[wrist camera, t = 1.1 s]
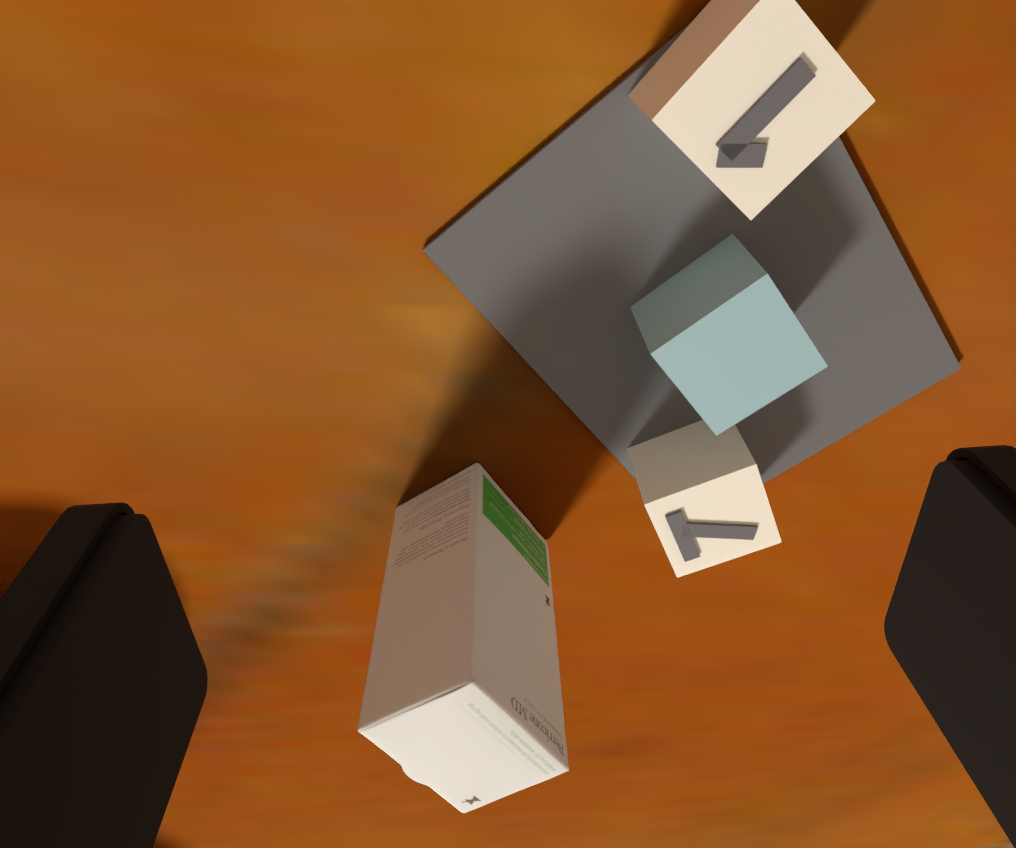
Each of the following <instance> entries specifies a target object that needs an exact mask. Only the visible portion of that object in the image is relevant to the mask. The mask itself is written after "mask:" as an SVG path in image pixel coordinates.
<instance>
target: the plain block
mask: <svg viewBox="0 0 1016 848" xmlns="http://www.w3.org/2000/svg"><path fill="white" fill-rule="evenodd" d="M630 308H631V311H632V313H633V315H634V318H635V320H636V322H637V325H638V327H639V329H640V332H641V334H642V336H643V338H644V341H645V343H646V345H647V348H648V350H649V352H650V354H651V356H652V357H653V358H654V359H655V361H656V362H657V363H658V364H659V366H660V367H661V368H662V369H663V370H664V372H665V373H666V374H667V375H668V377H669V378H670V379H671V380H672V382H673V383H674V384H675V385H676V387H677V388H678V389H679V390H680V391H681V393H682V394H683V395H684V396H685V398H686V399H687V400H688V401H689V403H690V404H691V405H692V406H693V408H694V409H695V410H696V411H697V413H698V414H699V415H700V416H701V417H702V419H703V420H704V421H705V422H706V424H707V425H708V426H709V427H710V429H711V430H712V431H713V432H714V434H715V435H716V436H717V435H719V434H720V433H722V432H723V431H725V430H727V429H728V428H730V427H732V426H733V425H735V424H736V423H738V422H740V421H741V420H743V419H744V418H746V417H748V416H749V415H751V414H752V413H754V412H756V411H757V410H759V409H760V408H762V407H764V406H765V405H767V404H768V403H770V402H772V401H773V400H775V399H777V398H778V397H780V396H781V395H783V394H785V393H786V392H788V391H789V390H791V389H793V388H794V387H796V386H797V385H799V384H801V383H802V382H804V381H805V380H807V379H809V378H810V377H812V376H814V375H815V374H817V373H818V372H820V371H822V370H823V369H825V368H826V367H828V366H827V364H826V362H825V361H824V359H823V358H822V356H821V355H820V353H819V352H818V350H817V349H816V347H815V346H814V344H813V342H812V341H811V339H810V338H809V336H808V335H807V333H806V332H805V330H804V329H803V327H802V326H801V324H800V323H799V321H798V319H797V318H796V316H795V315H794V313H793V312H792V310H791V309H790V307H789V306H788V304H787V303H786V301H785V299H784V298H783V296H782V295H781V293H780V292H779V290H778V289H777V287H776V286H775V284H774V283H773V281H772V280H771V278H770V276H769V275H768V273H767V272H766V271H765V270H764V269H763V268H762V267H761V265H760V264H759V263H758V262H757V261H756V260H755V259H754V257H753V256H752V255H751V254H750V253H749V252H748V250H747V249H746V248H745V247H744V246H743V245H742V244H741V242H740V241H739V240H738V239H737V238H736V237H735V236H734V234H733V233H732V234H731V235H730V236H728V237H727V238H726V239H724V240H723V241H721V242H720V243H719V244H717V245H716V246H714V247H713V248H712V249H710V250H709V251H707V252H706V253H705V254H703V255H702V256H700V257H699V258H698V259H696V260H695V261H694V262H692V263H691V264H689V265H688V266H687V267H685V268H684V269H682V270H681V271H680V272H678V273H677V274H675V275H674V276H673V277H671V278H670V279H668V280H667V281H666V282H664V283H663V284H661V285H660V286H659V287H657V288H656V289H655V290H653V291H652V292H650V293H649V294H648V295H646V296H645V297H643V298H642V299H641V300H639V301H638V302H636V303H635V304H634V305H632V306H631V307H630Z"/></svg>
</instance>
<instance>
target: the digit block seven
mask: <svg viewBox="0 0 1016 848" xmlns="http://www.w3.org/2000/svg"><path fill="white" fill-rule="evenodd" d="M627 450H628V454H629V457H630V460H631V463H632V467H633V470H634V473H635V476H636V480H637V483H638V486H639V489H640V493H641V496H642V499H643V502H644V505H645V507H646V510H647V512H648V514H649V516H650V518H651V521H652V523H653V525H654V527H655V530H656V532H657V534H658V536H659V538H660V541H661V543H662V545H663V547H664V549H665V552H666V554H667V556H668V558H669V561H670V563H671V565H672V567H673V569H674V572H675V574H676V576H677V578H678V577H681V576H684V575H687V574H690V573H693V572H696V571H699V570H702V569H704V568H707V567H710V566H713V565H716V564H719V563H722V562H725V561H728V560H731V559H734V558H737V557H740V556H743V555H746V554H749V553H752V552H755V551H758V550H761V549H764V548H767V547H770V546H773V545H776V544H779V543H782V542H781V539H780V536H779V532H778V529H777V526H776V523H775V520H774V517H773V514H772V511H771V508H770V505H769V501H768V498H767V495H766V492H765V489H764V486H763V483H762V480H761V477H760V474H759V470H758V467H757V464H756V462H755V460H754V459H753V457H752V455H751V453H750V451H749V449H748V447H747V446H746V444H745V442H744V440H743V438H742V436H741V435H740V433H739V431H738V429H737V427H736V425H733V426H732V427H730V428H728V429H727V430H725V431H723V432H722V433H720V434H719V435H717V436H716V435H715V434H714V432H713V431H712V430H711V429H710V427H709V426H708V425H707V424H706V422H705V421H704V420H701V421H698V422H696V423H693V424H690V425H688V426H685V427H682V428H680V429H677V430H674V431H672V432H669V433H666V434H664V435H661V436H659V437H656V438H653V439H651V440H648V441H645V442H643V443H640V444H637V445H635V446H632V447H629V448H627Z"/></svg>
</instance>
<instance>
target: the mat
mask: <svg viewBox="0 0 1016 848" xmlns="http://www.w3.org/2000/svg"><path fill="white" fill-rule="evenodd" d="M690 23H691V22H690ZM690 23H689V24H688V25H687V26H686V27H684V28H683V29H682V30H681V31H680V32H678V33H677V34H676V35H675V36H674V37H673V38H671V39H670V40H669V41H668V42H667V43H665V44H664V45H663V46H662V47H661V48H659V49H658V50H657V51H656V52H655V53H654V54H652V55H651V56H650V57H649V58H648V59H646V60H645V61H644V62H643V63H642V64H640V65H639V66H638V67H637V68H636V69H635V70H633V71H632V72H631V73H630V74H629V75H627V76H626V77H625V78H624V79H623V80H621V81H620V82H619V83H618V84H617V85H616V86H614V87H613V88H612V89H611V90H610V91H608V92H607V93H606V94H605V95H604V96H602V97H601V98H600V99H599V100H598V101H597V102H595V103H594V104H593V105H592V106H591V107H589V108H588V109H587V110H586V111H585V112H583V113H582V114H581V115H580V116H579V117H578V118H576V119H575V120H574V121H573V122H572V123H570V124H569V125H568V126H567V127H566V128H564V129H563V130H562V131H561V132H560V133H559V134H557V135H556V136H555V137H554V138H553V139H551V140H550V141H549V142H548V143H547V144H545V145H544V146H543V147H542V148H541V149H540V150H538V151H537V152H536V153H535V154H534V155H532V156H531V157H530V158H529V159H528V160H526V161H525V162H524V163H523V164H522V165H521V166H519V167H518V168H517V169H516V170H515V171H513V172H512V173H511V174H510V175H509V176H507V177H506V178H505V179H504V180H503V181H502V182H500V183H499V184H498V185H497V186H496V187H494V188H493V189H492V190H491V191H490V192H488V193H487V194H486V195H485V196H484V197H483V198H481V199H480V200H479V201H478V202H477V203H475V204H474V205H473V206H472V207H471V208H469V209H468V210H467V211H466V212H465V213H464V214H462V215H461V216H460V217H459V218H458V219H456V220H455V221H454V222H453V223H452V224H450V225H449V226H448V227H447V228H446V229H445V230H443V231H442V232H441V233H440V234H439V235H437V236H436V237H435V238H434V239H433V240H431V241H430V242H429V243H428V244H427V245H426V246H424V247H423V251H424V252H425V253H426V254H427V255H428V257H429V258H430V259H431V260H432V261H433V262H434V263H435V264H436V265H437V266H438V267H439V268H440V269H441V270H442V272H443V273H444V274H445V275H446V276H447V277H448V278H449V279H450V280H451V281H452V282H453V283H454V284H455V286H456V287H457V288H458V289H459V290H460V291H461V292H462V293H463V294H464V295H465V296H466V297H467V298H468V300H469V301H470V302H471V303H472V304H473V305H474V306H475V307H476V308H477V309H478V310H479V311H480V312H481V314H482V315H483V316H484V317H485V318H486V319H487V320H488V321H489V322H490V323H491V324H492V325H493V326H494V327H495V329H496V330H497V331H498V332H499V333H500V334H501V335H502V336H503V337H504V338H505V339H506V340H507V341H508V343H509V344H510V345H511V346H512V347H513V348H514V349H515V350H516V351H517V352H518V353H519V354H520V355H521V357H522V358H523V359H524V360H525V361H526V362H527V363H528V364H529V365H530V366H531V367H532V368H533V369H534V371H535V372H536V373H537V374H538V375H539V376H540V377H541V378H542V379H543V380H544V381H545V382H546V383H547V385H548V386H549V387H550V388H551V389H552V390H553V391H554V392H555V393H556V394H557V395H558V396H559V397H560V398H561V400H562V401H563V402H564V403H565V404H566V405H567V406H568V407H569V408H570V409H571V410H572V411H573V412H574V414H575V415H576V416H577V417H578V418H579V419H580V420H581V421H582V422H583V423H584V424H585V425H586V426H587V428H588V429H589V430H590V431H591V432H592V433H593V434H594V435H595V436H596V437H597V438H598V439H599V440H600V442H601V443H602V444H603V445H604V446H605V447H606V448H607V449H608V450H609V451H610V452H611V453H612V454H613V455H614V457H615V458H616V459H617V460H618V461H619V462H620V463H621V464H622V465H623V466H624V467H625V468H626V469H627V471H628V472H629V473H630V474H631V475H632V476H633V477H634V478H635V479H636V476H635V473H634V470H633V467H632V463H631V460H630V457H629V454H628V450H627V448H629V447H632V446H635V445H637V444H640V443H643V442H645V441H648V440H651V439H653V438H656V437H659V436H661V435H664V434H666V433H669V432H672V431H674V430H677V429H680V428H682V427H685V426H688V425H690V424H693V423H696V422H698V421H701V420H703V419H702V417H701V416H700V415H699V414H698V413H697V411H696V410H695V409H694V408H693V406H692V405H691V404H690V403H689V401H688V400H687V399H686V398H685V396H684V395H683V394H682V393H681V391H680V390H679V389H678V388H677V387H676V385H675V384H674V383H673V382H672V380H671V379H670V378H669V377H668V375H667V374H666V373H665V372H664V370H663V369H662V368H661V367H660V366H659V364H658V363H657V362H656V361H655V359H654V358H653V357H652V356H651V354H650V352H649V350H648V348H647V345H646V343H645V341H644V338H643V336H642V334H641V332H640V329H639V327H638V325H637V322H636V320H635V318H634V315H633V313H632V311H631V308H630V307H631V306H632V305H634V304H635V303H636V302H638V301H639V300H641V299H642V298H643V297H645V296H646V295H648V294H649V293H650V292H652V291H653V290H655V289H656V288H657V287H659V286H660V285H661V284H663V283H664V282H666V281H667V280H668V279H670V278H671V277H673V276H674V275H675V274H677V273H678V272H680V271H681V270H682V269H684V268H685V267H687V266H688V265H689V264H691V263H692V262H694V261H695V260H696V259H698V258H699V257H700V256H702V255H703V254H705V253H706V252H707V251H709V250H710V249H712V248H713V247H714V246H716V245H717V244H719V243H720V242H721V241H723V240H724V239H726V238H727V237H728V236H730V235H731V234H732V233H733V234H734V236H735V237H736V238H737V239H738V240H739V241H740V242H741V244H742V245H743V246H744V247H745V248H746V249H747V250H748V252H749V253H750V254H751V255H752V256H753V257H754V259H755V260H756V261H757V262H758V263H759V264H760V265H761V267H762V268H763V269H764V270H765V271H766V272H767V273H768V275H769V276H770V278H771V280H772V281H773V283H774V284H775V286H776V287H777V289H778V290H779V292H780V293H781V295H782V296H783V298H784V299H785V301H786V303H787V304H788V306H789V307H790V309H791V310H792V312H793V313H794V315H795V316H796V318H797V319H798V321H799V323H800V324H801V326H802V327H803V329H804V330H805V332H806V333H807V335H808V336H809V338H810V339H811V341H812V342H813V344H814V346H815V347H816V349H817V350H818V352H819V353H820V355H821V356H822V358H823V359H824V361H825V362H826V364H827V366H828V367H826V368H825V369H823V370H822V371H820V372H818V373H817V374H815V375H814V376H812V377H810V378H809V379H807V380H805V381H804V382H802V383H801V384H799V385H797V386H796V387H794V388H793V389H791V390H789V391H788V392H786V393H785V394H783V395H781V396H780V397H778V398H777V399H775V400H773V401H772V402H770V403H768V404H767V405H765V406H764V407H762V408H760V409H759V410H757V411H756V412H754V413H752V414H751V415H749V416H748V417H746V418H744V419H743V420H741V421H740V422H738V423H736V424H735V425H736V427H737V429H738V431H739V433H740V435H741V436H742V438H743V440H744V442H745V444H746V446H747V447H748V449H749V451H750V453H751V455H752V457H753V459H754V460H755V462H756V464H757V467H758V470H759V474H760V477H761V480H762V483H763V484H764V483H765V482H767V481H769V480H771V479H772V478H774V477H776V476H777V475H779V474H781V473H782V472H784V471H786V470H788V469H789V468H791V467H793V466H794V465H796V464H798V463H800V462H801V461H803V460H805V459H806V458H808V457H810V456H812V455H813V454H815V453H817V452H818V451H820V450H822V449H824V448H825V447H827V446H829V445H830V444H832V443H834V442H836V441H837V440H839V439H841V438H842V437H844V436H846V435H848V434H849V433H851V432H853V431H854V430H856V429H858V428H860V427H861V426H863V425H865V424H866V423H868V422H870V421H872V420H873V419H875V418H877V417H878V416H880V415H882V414H884V413H885V412H887V411H889V410H890V409H892V408H894V407H896V406H897V405H899V404H901V403H902V402H904V401H906V400H907V399H909V398H911V397H913V396H914V395H916V394H918V393H919V392H921V391H923V390H925V389H926V388H928V387H930V386H931V385H933V384H935V383H937V382H938V381H940V380H942V379H943V378H945V377H947V376H949V375H950V374H952V373H954V372H955V371H957V370H959V369H961V366H960V365H959V363H958V361H957V359H956V357H955V355H954V353H953V351H952V349H951V348H950V346H949V344H948V342H947V340H946V338H945V336H944V334H943V332H942V330H941V329H940V327H939V325H938V323H937V321H936V319H935V317H934V315H933V313H932V311H931V310H930V308H929V306H928V304H927V302H926V300H925V298H924V296H923V294H922V293H921V291H920V289H919V287H918V285H917V283H916V281H915V279H914V277H913V275H912V274H911V272H910V270H909V268H908V266H907V264H906V262H905V260H904V258H903V257H902V255H901V253H900V251H899V249H898V247H897V245H896V243H895V241H894V239H893V238H892V236H891V234H890V232H889V230H888V228H887V226H886V224H885V222H884V220H883V219H882V217H881V215H880V213H879V211H878V209H877V207H876V205H875V203H874V202H873V200H872V198H871V196H870V194H869V192H868V190H867V188H866V186H865V184H864V183H863V181H862V179H861V177H860V175H859V173H858V171H857V169H856V167H855V165H854V164H853V162H852V160H851V158H850V156H849V154H848V152H847V150H846V148H845V147H844V145H843V143H842V141H841V139H840V137H839V136H838V137H837V138H836V139H835V140H834V141H833V142H832V143H831V144H830V145H829V146H828V147H827V148H826V149H825V150H824V151H823V152H822V153H821V154H820V155H819V156H818V157H817V158H816V159H815V160H813V161H812V162H811V163H810V164H809V165H808V166H807V167H806V168H805V169H804V170H803V171H802V172H801V173H800V174H799V175H798V176H797V177H796V178H795V179H794V180H793V181H792V182H791V183H790V184H789V185H787V186H786V187H785V188H784V189H783V190H782V191H781V192H780V193H779V194H778V195H777V196H776V197H775V198H774V199H773V200H772V201H771V202H770V203H769V204H768V205H767V206H766V207H765V208H764V209H763V210H761V211H760V212H759V213H758V214H757V215H756V216H755V217H754V218H753V219H752V220H750V219H749V218H748V217H747V216H746V215H745V214H744V213H743V212H742V211H741V210H740V209H739V208H738V207H737V206H736V205H735V204H734V203H733V202H732V201H731V200H730V199H729V198H728V197H727V196H726V195H725V194H724V193H723V192H722V191H721V190H720V189H719V188H718V187H717V186H716V185H715V184H714V183H713V182H712V181H711V180H710V179H709V178H708V177H707V176H706V175H705V174H704V173H703V172H702V171H701V170H700V169H699V168H698V167H697V166H696V165H695V164H694V163H693V162H692V161H691V160H690V159H689V158H688V157H687V156H686V155H685V154H684V153H683V152H682V150H681V149H680V148H679V147H678V146H677V145H676V144H675V143H674V142H673V141H672V140H671V139H670V138H669V137H668V136H667V135H666V134H665V133H664V132H663V131H662V130H661V129H660V128H659V127H658V126H657V125H656V124H655V123H654V122H653V121H652V120H651V119H650V118H649V117H648V116H647V115H646V114H645V113H644V112H643V111H642V110H641V109H640V108H639V107H638V106H637V105H636V104H635V103H634V102H633V100H632V99H631V98H630V97H629V96H628V94H629V93H630V92H631V91H632V90H633V89H634V87H635V86H636V85H637V84H638V83H639V82H640V81H641V79H642V78H643V77H644V76H645V75H646V74H647V73H648V71H649V70H650V69H651V68H652V67H653V66H654V65H655V63H656V62H657V61H658V60H659V59H660V58H661V57H662V55H663V54H664V53H665V52H666V51H667V50H668V49H669V47H670V46H671V45H672V44H673V43H674V42H675V41H676V39H677V38H678V37H679V36H680V35H681V34H682V33H683V31H684V30H685V29H686V28H687V27H688V26H689V25H690Z"/></svg>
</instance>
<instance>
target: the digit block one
mask: <svg viewBox="0 0 1016 848" xmlns="http://www.w3.org/2000/svg"><path fill="white" fill-rule="evenodd" d="M628 96H629V97H630V98H631V99H632V100H633V102H634V103H635V104H636V105H637V106H638V107H639V108H640V109H641V110H642V111H643V112H644V113H645V114H646V115H647V116H648V117H649V118H650V119H651V120H652V121H653V122H654V123H655V124H656V125H657V126H658V127H659V128H660V129H661V130H662V131H663V132H664V133H665V134H666V135H667V136H668V137H669V138H670V139H671V140H672V141H673V142H674V143H675V144H676V145H677V146H678V147H679V148H680V149H681V150H682V152H683V153H684V154H685V155H686V156H687V157H688V158H689V159H690V160H691V161H692V162H693V163H694V164H695V165H696V166H697V167H698V168H699V169H700V170H701V171H702V172H703V173H704V174H705V175H706V176H707V177H708V178H709V179H710V180H711V181H712V182H713V183H714V184H715V185H716V186H717V187H718V188H719V189H720V190H721V191H722V192H723V193H724V194H725V195H726V196H727V197H728V198H729V199H730V200H731V201H732V202H733V203H734V204H735V205H736V206H737V207H738V208H739V209H740V210H741V211H742V212H743V213H744V214H745V215H746V216H747V217H748V218H749V219H750V220H752V219H753V218H754V217H755V216H756V215H757V214H758V213H759V212H760V211H761V210H763V209H764V208H765V207H766V206H767V205H768V204H769V203H770V202H771V201H772V200H773V199H774V198H775V197H776V196H777V195H778V194H779V193H780V192H781V191H782V190H783V189H784V188H785V187H786V186H787V185H789V184H790V183H791V182H792V181H793V180H794V179H795V178H796V177H797V176H798V175H799V174H800V173H801V172H802V171H803V170H804V169H805V168H806V167H807V166H808V165H809V164H810V163H811V162H812V161H813V160H815V159H816V158H817V157H818V156H819V155H820V154H821V153H822V152H823V151H824V150H825V149H826V148H827V147H828V146H829V145H830V144H831V143H832V142H833V141H834V140H835V139H836V138H837V137H838V136H839V135H841V134H842V133H843V132H844V131H845V130H846V129H847V128H848V127H849V126H850V125H851V124H852V123H853V122H854V121H855V120H856V119H857V118H858V117H859V116H860V115H861V114H862V113H863V112H864V111H865V110H867V109H868V108H869V107H870V106H871V105H872V104H873V103H874V102H875V99H874V98H873V97H872V96H871V94H870V93H869V92H868V91H867V89H866V88H865V87H864V86H863V84H862V83H861V82H860V81H859V79H858V78H857V77H856V76H855V75H854V73H853V72H852V71H851V70H850V68H849V67H848V66H847V65H846V63H845V62H844V61H843V60H842V58H841V57H840V56H839V55H838V53H837V52H836V51H835V50H834V48H833V47H832V46H831V45H830V43H829V42H828V41H827V40H826V38H825V37H824V36H823V35H822V33H821V32H820V31H819V30H818V28H817V27H816V26H815V25H814V23H813V22H812V21H811V20H810V18H809V17H808V16H807V15H806V13H805V12H804V11H803V10H802V8H801V7H800V6H799V5H798V3H797V2H796V1H795V0H711V1H710V2H709V3H708V4H707V5H706V6H705V7H704V9H703V10H702V11H701V12H700V13H699V14H698V15H697V17H696V18H695V19H694V20H693V21H692V22H691V23H690V25H689V26H688V27H687V28H686V29H685V30H684V31H683V33H682V34H681V35H680V36H679V37H678V38H677V39H676V41H675V42H674V43H673V44H672V45H671V46H670V47H669V49H668V50H667V51H666V52H665V53H664V54H663V55H662V57H661V58H660V59H659V60H658V61H657V62H656V63H655V65H654V66H653V67H652V68H651V69H650V70H649V71H648V73H647V74H646V75H645V76H644V77H643V78H642V79H641V81H640V82H639V83H638V84H637V85H636V86H635V87H634V89H633V90H632V91H631V92H630V93H629V94H628Z"/></svg>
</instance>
